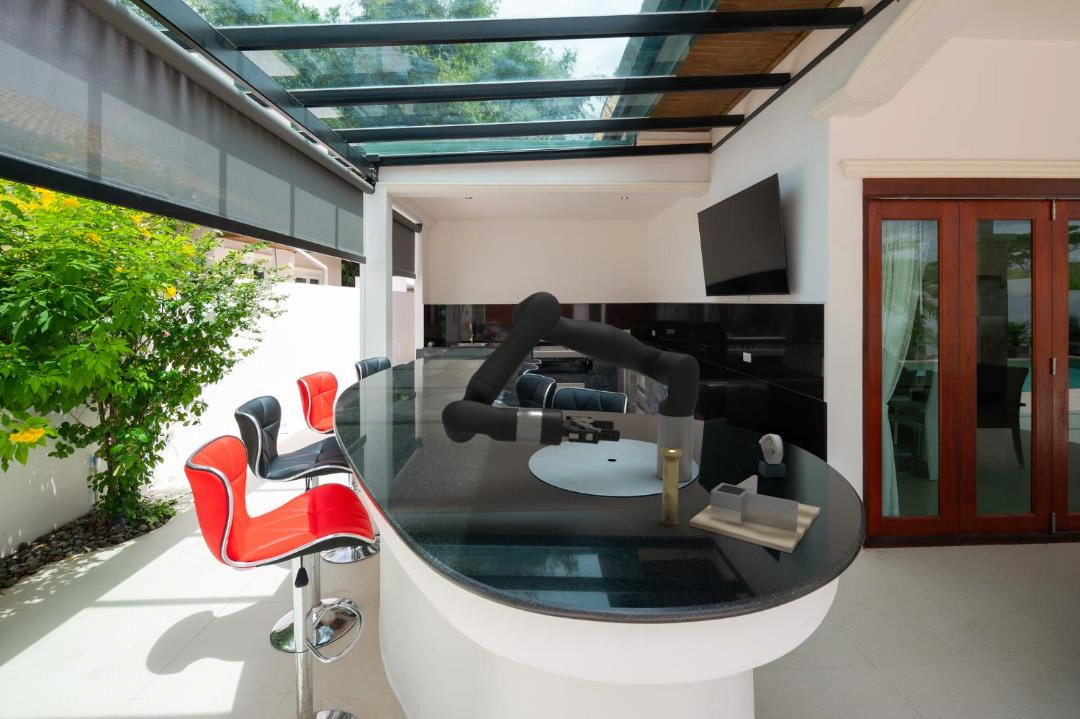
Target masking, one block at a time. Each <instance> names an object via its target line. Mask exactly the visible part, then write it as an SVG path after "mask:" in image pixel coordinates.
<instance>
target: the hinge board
mask: <svg viewBox="0 0 1080 719" xmlns="http://www.w3.org/2000/svg"><path fill="white" fill-rule="evenodd" d="M820 513H821V507H819V506H815V505H809V504H806V503H805V504H804V503H799V502H798V520H797V532H794V531H790V530H785V529H781V528H776V527H771V526H767V525H762V524H757V523H753V522H748V521H745V522H744V523H743V524H742V525H741V526H739V525H736V524H732V523H728V522H724V521H720V520H716V519H712V518H710V504H709V505H707V507H705V508H704V509H703V510H701V511H700V512H699V513H697V514H696V515H695V516H694V517H692V518H691V519H690V520H689V521H688V523H689V524H688V525H689V527H692V528H697V529H700V530H703V529H704V530H703V531H707V532H712V533H714V532H715V533H714V534H718V535H722V536H726V537H730V538H733V539H738V540H739V541H740V540H741V541H744V542H748V543H752V544H755V545H759V546H763V547H767V548H769V549H770V548H771V549H774V550H778V551H781V552H784V553H789V554H792V553H793V551H794V549H795V548H796V546H797V545H798V544H799V542H800V541H801V539H802V538H803V536H804V535H805V534H806V532H807V531H808V530H809V528H810V527H811V525H812V524H813V522H814V521H815V520H816V518H817V517H818V516H819V514H820Z"/></svg>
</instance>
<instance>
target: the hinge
mask: <svg viewBox="0 0 1080 719" xmlns="http://www.w3.org/2000/svg"><path fill="white" fill-rule="evenodd" d="M798 503H799V501H797V500H792V499H786V498H780V497H775V496H769V495H763V494H760V493H758V475H756V474H753V475H751V476H750V477H748V478H746V479H745V480H743V481H742V482H740V483H738V484H736V485H734V484H729V483H725V482H721V483H720V484H718V485H716V486H715V487H714V488H713V489H712V490H710V504H709V505H710V518H712V519H716V520H720V521H724V522H728V523H732V524H736V525H739V526H741V525H742V524H743V523H744V522H745V521H748V522H753V523H757V524H762V525H767V526H771V527H776V528H781V529H785V530H790V531H794V532H797V520H798Z"/></svg>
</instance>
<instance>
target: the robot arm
mask: <svg viewBox="0 0 1080 719" xmlns="http://www.w3.org/2000/svg"><path fill="white" fill-rule="evenodd" d="M511 321H512V324H513V326H514V327H513V328H512V330H511V331H510V333H508V335H507V337H505V339H504V340H503V341H502V342H501V343H500V344H499V345H498V346H497V347H496V348H495V349H494V350H493V351H492V352H491V354H489V356H487V358H486V359H485V360H484V361H483V362H482V364H480V366H479V367H478V369H477V370H476V371H475V373H474V374H473V376H472V377H471V379H470V380H469V381H468V382H467V384H466V388H465V394H464V396H463V397H462V399H460V400H459V399H458V400H455V401H451V402H449V403H448V404H447V405H446V406H445V407H444V408H443V409H442V413H441V422H442V425H443V428H444V431H445V434H446V436H447V437H448V438H449V440H450V441H452V442H453V443H456V444H464V443H466V442H468V441H470V440H472V439H473V438H474V437H475V436H476V435H477V434H479V435H485V436H488V437H489V438H490V439H491V440H492V441H497V442H508V443H509V442H512V443H520V444H525V445H540V446H553V447H554V446H557V447H558V446H561V444H562V438H564V437H565V438H568V440H567V441H568V442H569V443H577V444H578V443H579V444H581V443H582V444H593V445H598V444H599V443H601V441H602V442H619V441H620V438H621V433H620V430H619V429H615V428H614V427H615V423H614V421H612V420H601V419H600V420H599V419H596V418H593V417H592V416H580V415H579V416H578V415H577V416H576V415H565V418H564V412H563V410H561V409H558V408H557V409H556V408H554V409H553V408H539V407H525V408H524V407H522V408H520V407H519V408H518V407H499V406H498V407H497V406H493V405H494V403H495V402H496V400H497V399H498V398H499V396H500V395H501V394H502V392H503V391H504V390H505V388H506V386H507V385H508V384H509V382H510V381H511V379H512V377H513V376H514V374H516V372H517V370H518V369H519V367H520V366H521V365H522V363H523V362H524V361H525V359H526V358H527V357H528V356H529V354H530V353H531V351H533V349H535V347H536V346H537V345H538V344H539V343H540V341H543V342H547V343H551V344H556V345H558V346H561V347H564V348H567V349H568V350H571V351H574V352H577V353H579V354H582V355H585V356H586V357H589V358H591V359H594V360H596V361H599V362H601V363H605V364H607V365H610V366H613V367H617V368H621V369H625V370H631V371H634V372H636V373H639V374H641V375H643V376H646V377H648V378H650V379H652V380H653V381H655V382H657V383H659V384H661V385H662V386H665V387H667V396H666V398H665V399H664V400H660V401H659V402H658V406H657V447H656V476H657V478H659V479H661V480H663V456H662V455H661V448H662V447H678V448H681V449H682V457H679V478H678V483H679V482H682V483H683V482H687V481H690V480H692V478H693V459H694V458H693V456H694V455H693V454H694V427H695V425H694V423H695V422H694V421H695V420H694V418H695V416H694V415H695V409H696V408H695V407H696V405H697V404H698V400H699V388H700V386H699V385H700V367H699V363H698V361H697V360H696V358H695V357H694V356H692V355H689V354H685V353H679V352H673V351H672V352H671V351H666V350H662V349H657V348H655V347H653V346H649V345H646V344H644V343H642V342H641V341H640V340H639V339H637V338H636V337H635V336H634V335H632V334H630V333H629V332H627V331H625V330H623V329H620V328H618V327H616V326H613V325H611V324H608V323H604V322H600V321H594V320H582V319H574V318H568V317H565V316H562V308H561V304H560V301H559V300H558V298H557V297H556V296H555V295H554V294H552V293H550V292H547V291H539V292H537V291H536V292H535V293H532V294H531V295H529V296H527V297H526V298H524V299H523V300H521V301H520V302H519V303H517V305H516V306H515V307H514V308H513V309H512V312H511Z"/></svg>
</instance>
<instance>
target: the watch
mask: <svg viewBox="0 0 1080 719" xmlns="http://www.w3.org/2000/svg"><path fill="white" fill-rule="evenodd" d="M782 440H783V439H782V438H781V436H780V435H778V434H773V433H768V434H765V435H763V436H762V437H761V438H760V440H759V441H758V443H759V444H760V446H761V450H762V452H763V457H764V459H765V460H759V461H758V473H759V474H760V475H761V476H763V478H786V476H787V472H786V471H787V465H786V464H784V463H783V462H782V460H783V456H784V446H783V441H782Z"/></svg>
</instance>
